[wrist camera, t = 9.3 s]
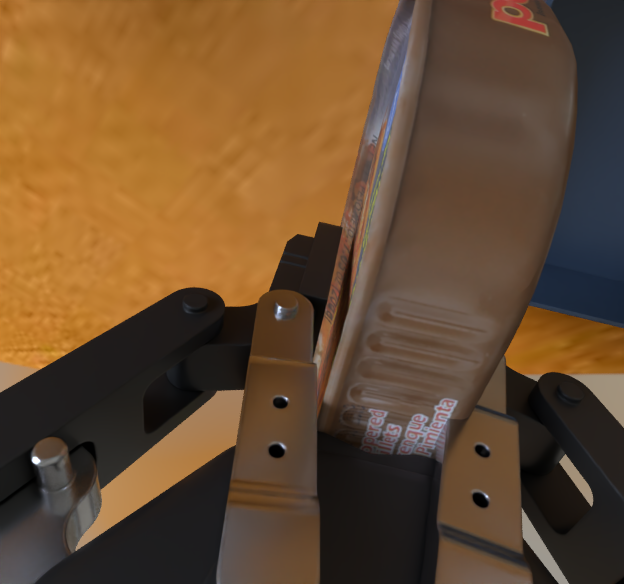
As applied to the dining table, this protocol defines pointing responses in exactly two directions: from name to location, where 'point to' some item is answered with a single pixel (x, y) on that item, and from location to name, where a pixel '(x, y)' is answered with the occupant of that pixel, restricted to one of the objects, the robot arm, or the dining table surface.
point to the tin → (445, 217)
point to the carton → (591, 173)
